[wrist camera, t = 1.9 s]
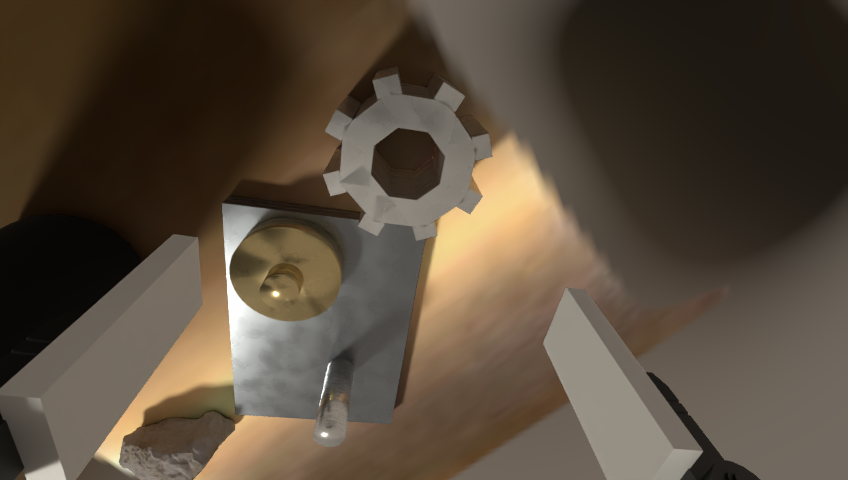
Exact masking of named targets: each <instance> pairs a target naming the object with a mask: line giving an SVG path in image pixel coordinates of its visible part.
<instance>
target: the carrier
mask: <svg viewBox="0 0 848 480" xmlns="http://www.w3.org/2000/svg"><path fill="white" fill-rule="evenodd" d="M222 213H223V228H224V243H225V259H226V274H227V290H228V305H229V321H230V336H231V352H232V367H233V382H234V398H235V413H236V415H252V416H268V417H285V418H301V419H316V424H315V429H314V434H313V438H314V440H315V442H316V443H318V444H319V445H322V446H325V447H334V446H337V445H340V444H341V443H342V442H343V441H344V440H345V435H346V428H347V421H351V422H367V423H384V424H391V421H392V416H393V411H394V405H395V400H396V395H397V389H398V384H399V379H400V373H401V368H402V362H403V357H404V352H405V346H406V341H407V336H408V330H409V325H410V319H411V314H412V309H413V303H414V298H415V293H416V287H417V282H418V277H419V271H420V266H421V260H422V255H423V250H424V244H425V239H422V240H418V241H416V238H415V235H414V231H413V227H412V226H405V225H397V224H388V223H385V225H384V226H383V228H382V229H381V231H380V233H379V234H378V236H376V235H374V234H372V233H370V232H368V231H366V230H364V229H362V228H360V227H358V222H359V218H360V213H361V212H355V211H347V210H339V209H331V208H323V207H315V206H307V205H299V204H292V203H284V202H276V201H268V200H260V199H252V198H244V197H236V196H229V197H228V198H227V199H226V200H225V201H224V202H223V203H222Z"/></svg>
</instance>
